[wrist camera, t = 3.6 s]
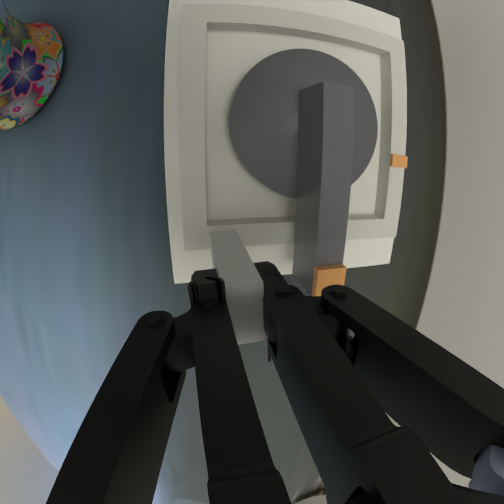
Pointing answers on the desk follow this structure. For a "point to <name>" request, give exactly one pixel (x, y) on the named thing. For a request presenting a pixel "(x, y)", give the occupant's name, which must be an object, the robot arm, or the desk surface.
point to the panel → (218, 139)
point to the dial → (307, 149)
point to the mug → (26, 67)
